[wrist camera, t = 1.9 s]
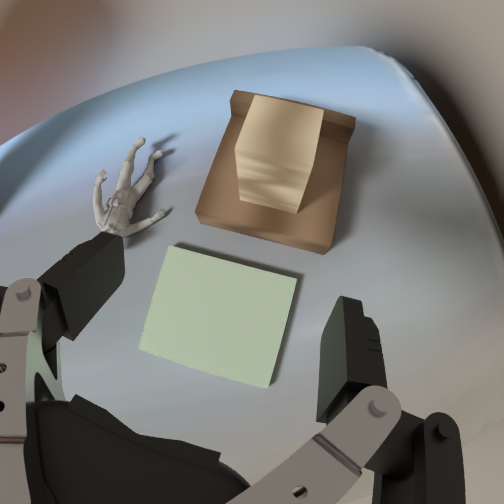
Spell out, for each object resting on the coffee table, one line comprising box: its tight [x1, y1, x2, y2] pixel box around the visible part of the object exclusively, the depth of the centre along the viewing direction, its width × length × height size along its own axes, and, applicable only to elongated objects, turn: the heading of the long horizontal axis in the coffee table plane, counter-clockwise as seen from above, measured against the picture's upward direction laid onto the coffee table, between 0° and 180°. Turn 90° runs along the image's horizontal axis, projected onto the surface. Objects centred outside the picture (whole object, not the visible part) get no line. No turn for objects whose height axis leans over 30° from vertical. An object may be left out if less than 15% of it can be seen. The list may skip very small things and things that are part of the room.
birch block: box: [235, 95, 324, 214], centre depth 22 cm, size 5×5×8 cm
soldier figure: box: [93, 137, 166, 239], centre depth 27 cm, size 8×5×12 cm
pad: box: [138, 245, 297, 389], centre depth 26 cm, size 12×10×1 cm
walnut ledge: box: [195, 90, 356, 255], centre depth 27 cm, size 12×12×6 cm
